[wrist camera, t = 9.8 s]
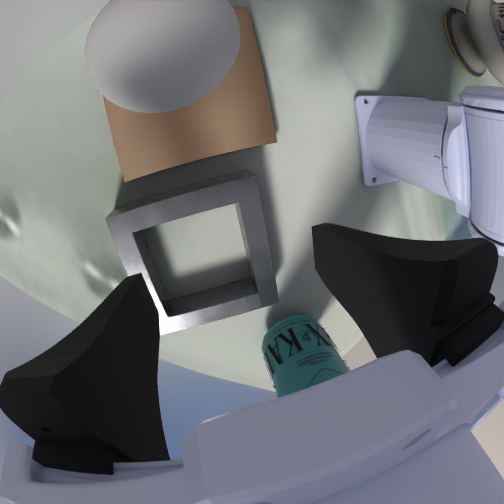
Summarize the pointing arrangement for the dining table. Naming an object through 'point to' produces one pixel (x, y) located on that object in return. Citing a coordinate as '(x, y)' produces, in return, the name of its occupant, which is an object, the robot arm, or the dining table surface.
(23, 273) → the dining table surface
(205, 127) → the walnut pad
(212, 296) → the holder frame
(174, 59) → the lightbulb
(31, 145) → the dining table surface
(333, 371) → the beverage bottle
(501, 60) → the apothecary jar
